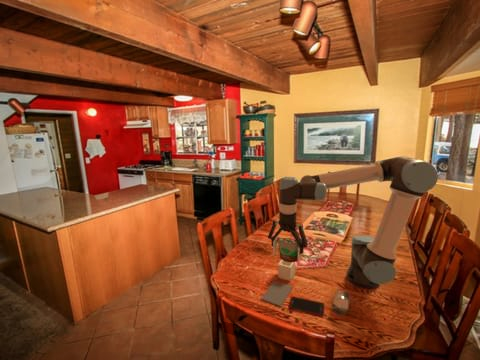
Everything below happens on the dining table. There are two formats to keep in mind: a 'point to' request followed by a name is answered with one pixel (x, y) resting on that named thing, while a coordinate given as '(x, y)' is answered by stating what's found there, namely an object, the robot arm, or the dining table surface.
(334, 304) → the silver round cylinder
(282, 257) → the food container
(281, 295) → the felt pad
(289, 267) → the cup
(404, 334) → the dining table surface
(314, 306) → the cell phone
